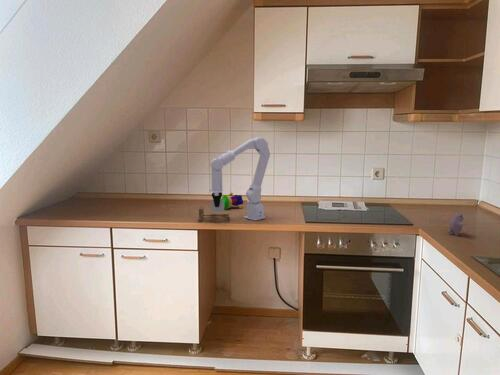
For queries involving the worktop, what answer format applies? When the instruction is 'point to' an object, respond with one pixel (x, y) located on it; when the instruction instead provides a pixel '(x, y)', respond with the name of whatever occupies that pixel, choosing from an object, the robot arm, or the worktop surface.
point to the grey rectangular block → (217, 209)
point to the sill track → (211, 216)
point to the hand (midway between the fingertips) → (217, 206)
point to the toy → (232, 200)
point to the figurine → (456, 224)
